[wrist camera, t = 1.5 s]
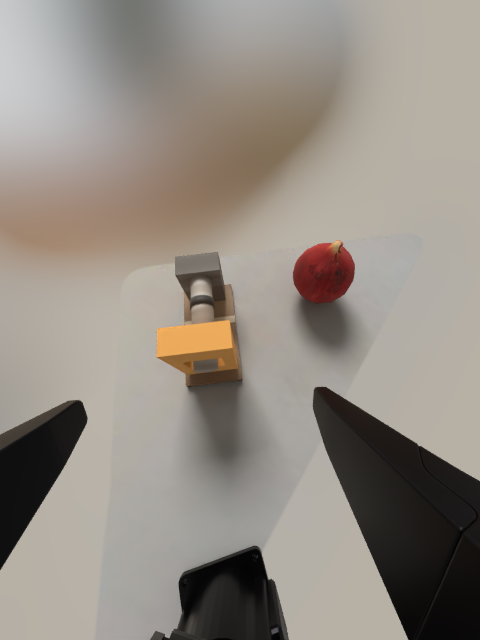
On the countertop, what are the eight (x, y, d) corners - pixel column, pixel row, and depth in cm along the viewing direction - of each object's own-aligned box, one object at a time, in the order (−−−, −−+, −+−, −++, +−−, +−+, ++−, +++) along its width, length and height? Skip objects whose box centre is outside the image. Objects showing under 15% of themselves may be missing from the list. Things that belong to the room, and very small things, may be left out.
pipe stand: (242, 379, 22) (240, 369, 16) (187, 386, 22) (165, 378, 16) (231, 286, 27) (226, 250, 21) (185, 292, 27) (166, 257, 21)
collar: (237, 368, 22) (232, 347, 15) (187, 374, 22) (156, 357, 14) (235, 349, 23) (229, 320, 15) (187, 355, 23) (157, 328, 15)
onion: (343, 311, 25) (383, 270, 18) (292, 317, 25) (311, 278, 18) (330, 268, 27) (361, 216, 20) (284, 273, 27) (297, 222, 20)
